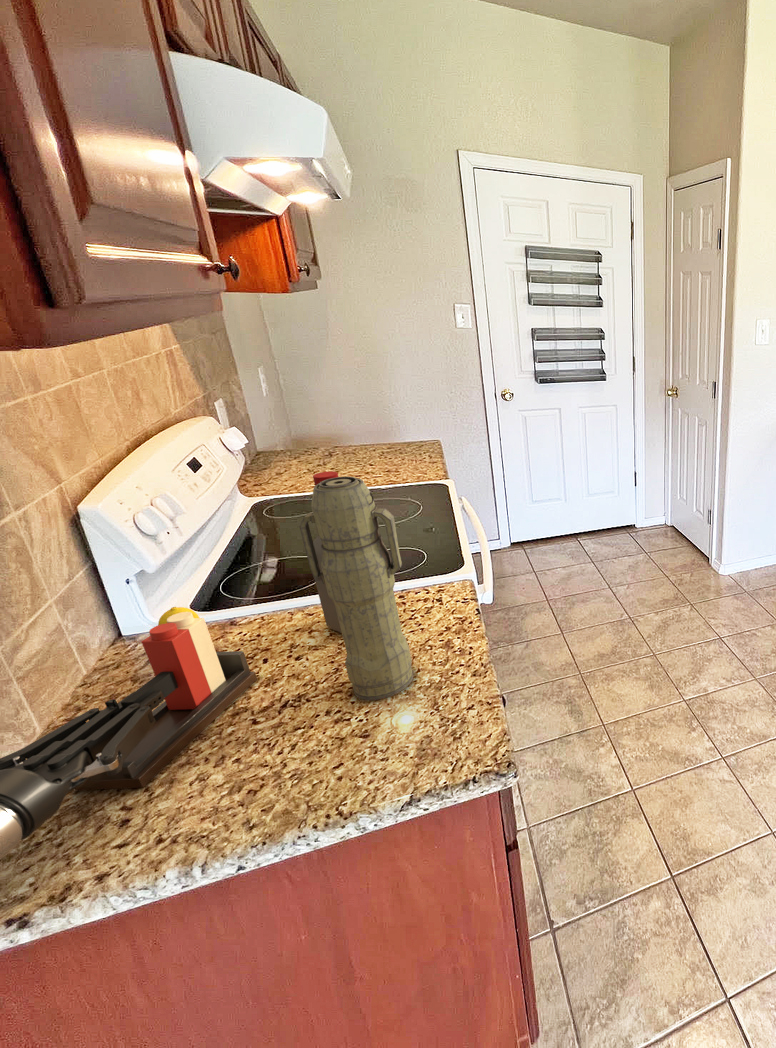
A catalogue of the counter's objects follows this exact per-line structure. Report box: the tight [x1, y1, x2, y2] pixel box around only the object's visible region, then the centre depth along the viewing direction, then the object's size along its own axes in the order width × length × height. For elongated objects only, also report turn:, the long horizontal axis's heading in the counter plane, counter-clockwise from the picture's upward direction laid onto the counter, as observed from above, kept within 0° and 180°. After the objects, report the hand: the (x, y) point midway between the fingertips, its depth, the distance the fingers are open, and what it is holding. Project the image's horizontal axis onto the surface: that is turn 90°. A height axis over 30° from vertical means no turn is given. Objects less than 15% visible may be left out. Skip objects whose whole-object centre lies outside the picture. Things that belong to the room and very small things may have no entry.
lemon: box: [157, 606, 200, 626], centre depth 100 cm, size 6×6×8 cm
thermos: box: [298, 476, 414, 701], centre depth 87 cm, size 9×12×35 cm
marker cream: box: [167, 612, 226, 693], centre depth 86 cm, size 4×3×13 cm
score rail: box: [74, 650, 258, 791], centre depth 82 cm, size 8×22×6 cm, turn 5°
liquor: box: [312, 470, 342, 634], centre depth 105 cm, size 9×9×30 cm
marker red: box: [141, 623, 212, 710], centre depth 83 cm, size 4×3×13 cm
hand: (169, 679), depth 82 cm, fingers closed
